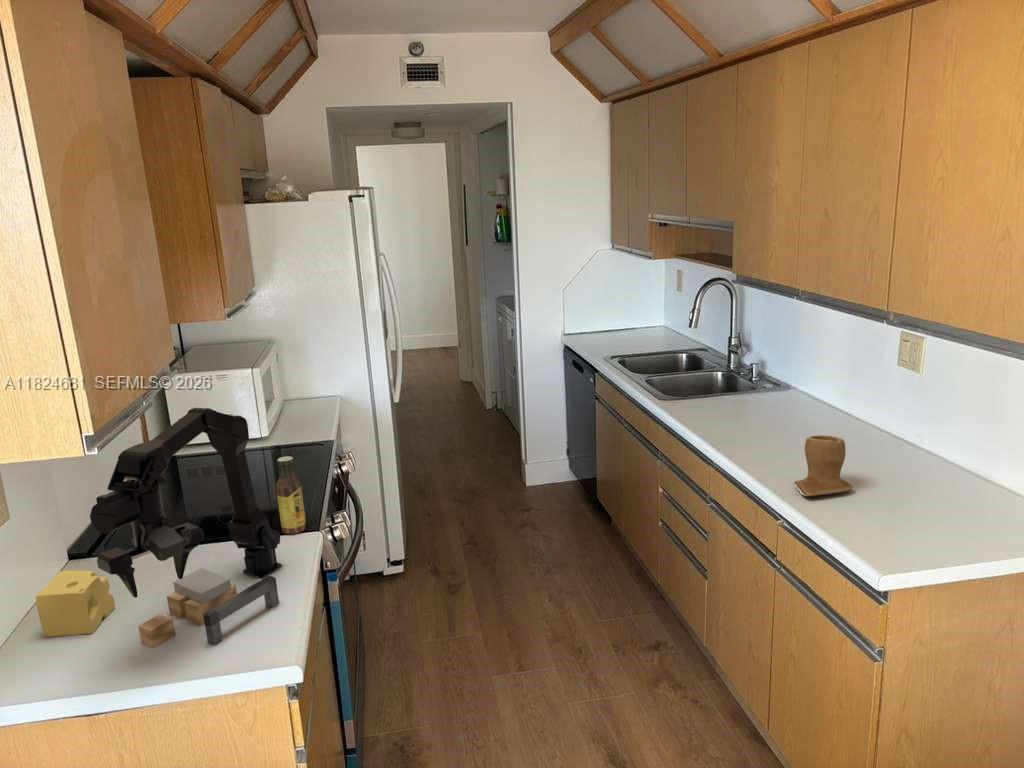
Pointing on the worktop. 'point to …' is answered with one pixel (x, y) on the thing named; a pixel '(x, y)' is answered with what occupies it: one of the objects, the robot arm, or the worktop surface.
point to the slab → (202, 585)
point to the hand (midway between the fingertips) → (158, 587)
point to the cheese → (74, 603)
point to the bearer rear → (177, 605)
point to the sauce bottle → (290, 498)
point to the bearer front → (205, 606)
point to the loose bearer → (156, 630)
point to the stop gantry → (239, 606)
